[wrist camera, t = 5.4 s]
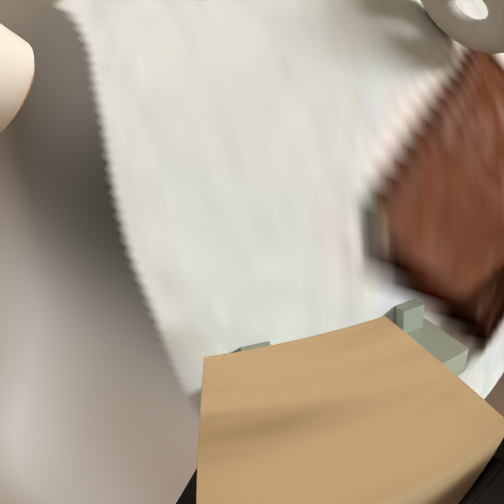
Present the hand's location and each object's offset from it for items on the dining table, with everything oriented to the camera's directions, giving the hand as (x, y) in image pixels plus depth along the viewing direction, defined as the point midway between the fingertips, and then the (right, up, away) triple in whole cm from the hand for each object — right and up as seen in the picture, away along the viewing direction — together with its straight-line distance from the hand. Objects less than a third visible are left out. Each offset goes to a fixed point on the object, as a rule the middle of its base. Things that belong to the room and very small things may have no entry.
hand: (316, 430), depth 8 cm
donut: (+15, +27, +8) cm, 32 cm away
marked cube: (0, 0, +1) cm, 1 cm away
